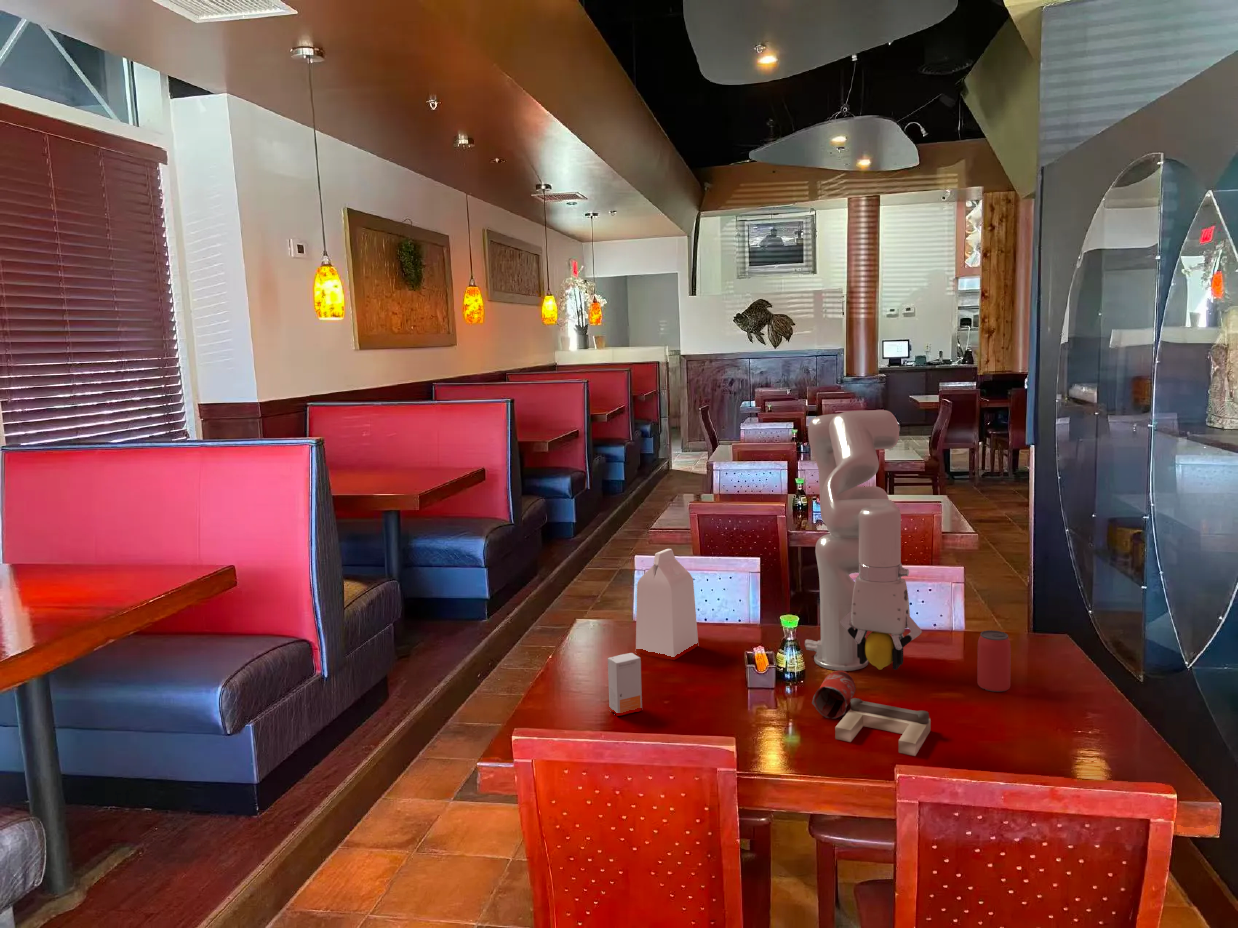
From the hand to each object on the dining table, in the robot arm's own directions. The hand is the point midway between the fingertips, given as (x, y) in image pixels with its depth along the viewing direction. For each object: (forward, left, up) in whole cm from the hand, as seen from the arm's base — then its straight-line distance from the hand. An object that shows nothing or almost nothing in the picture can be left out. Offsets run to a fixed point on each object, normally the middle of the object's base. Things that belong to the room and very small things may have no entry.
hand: (880, 663), depth 159 cm
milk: (-61, +25, -15) cm, 68 cm away
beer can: (+15, +36, -15) cm, 42 cm away
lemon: (0, 0, -1) cm, 1 cm away
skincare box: (-50, -12, -15) cm, 54 cm away
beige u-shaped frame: (0, +2, -15) cm, 15 cm away
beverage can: (-12, +10, -15) cm, 22 cm away
